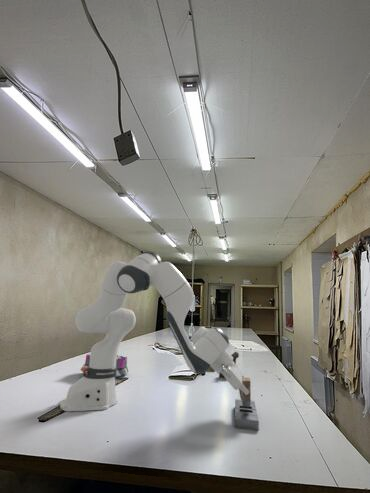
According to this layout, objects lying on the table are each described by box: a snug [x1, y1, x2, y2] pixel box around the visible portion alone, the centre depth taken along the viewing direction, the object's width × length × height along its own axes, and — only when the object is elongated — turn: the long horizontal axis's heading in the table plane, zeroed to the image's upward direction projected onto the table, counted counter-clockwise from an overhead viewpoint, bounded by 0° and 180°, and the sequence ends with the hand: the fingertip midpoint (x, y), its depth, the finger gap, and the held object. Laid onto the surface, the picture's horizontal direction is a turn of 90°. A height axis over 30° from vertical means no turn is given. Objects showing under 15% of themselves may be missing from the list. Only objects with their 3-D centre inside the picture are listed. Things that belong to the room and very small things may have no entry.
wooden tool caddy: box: [218, 351, 240, 379], centre depth 181 cm, size 8×16×13 cm, turn 143°
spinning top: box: [81, 353, 129, 377], centre depth 170 cm, size 27×28×15 cm
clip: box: [241, 376, 252, 407], centre depth 116 cm, size 3×6×9 cm, turn 171°
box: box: [206, 366, 216, 373], centre depth 199 cm, size 8×22×5 cm, turn 158°
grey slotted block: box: [234, 399, 260, 431], centre depth 115 cm, size 8×22×3 cm, turn 171°
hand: (247, 390), depth 116 cm, fingers closed on clip, 6 cm apart
